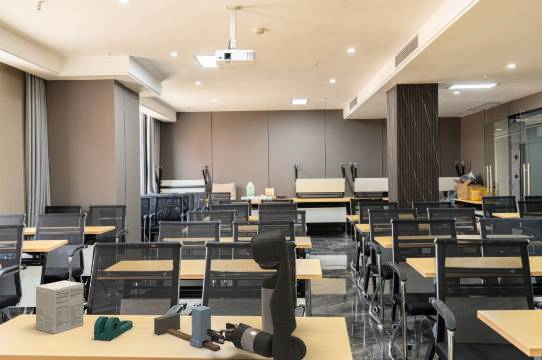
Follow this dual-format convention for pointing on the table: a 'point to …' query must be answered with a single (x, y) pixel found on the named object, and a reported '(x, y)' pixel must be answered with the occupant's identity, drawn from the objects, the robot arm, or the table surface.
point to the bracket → (110, 328)
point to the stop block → (166, 323)
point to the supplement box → (59, 306)
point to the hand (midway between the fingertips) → (217, 328)
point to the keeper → (200, 325)
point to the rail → (188, 337)
